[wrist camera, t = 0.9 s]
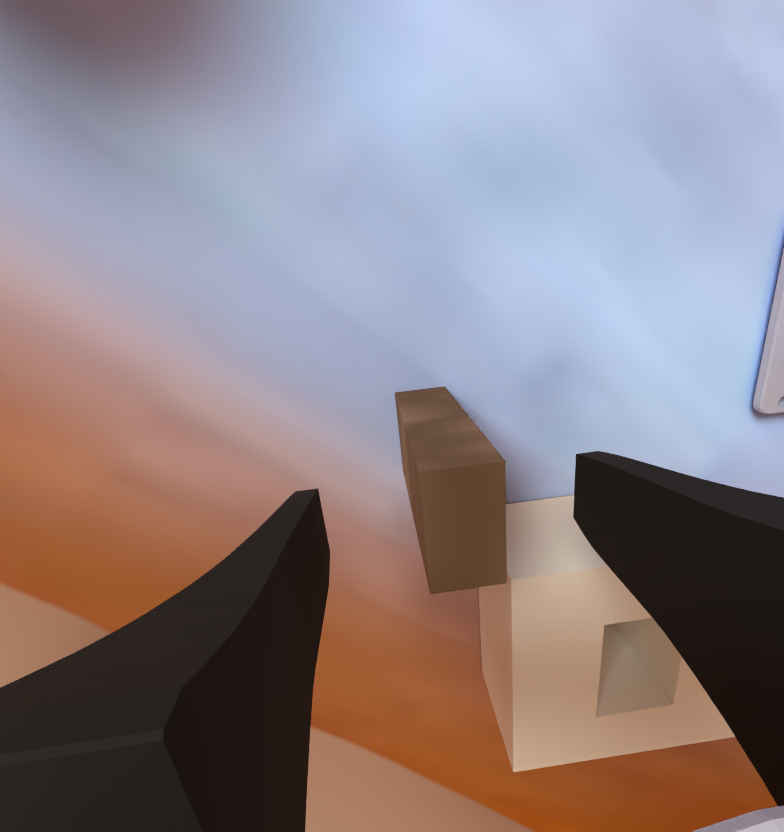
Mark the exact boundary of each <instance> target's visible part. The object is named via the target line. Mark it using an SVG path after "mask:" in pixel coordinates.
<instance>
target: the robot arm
mask: <svg viewBox="0 0 784 832" xmlns="http://www.w3.org/2000/svg"><path fill="white" fill-rule="evenodd" d="M780 398H781V399H780ZM779 399H780V401H779ZM753 407H754V409H755V410H756V411H758V412H761V413H764V414H774V413H781V412H784V250H783V255H782V260H781V265H780V270H779V275H778V280H777V285H776V290H775V295H774V300H773V305H772V310H771V315H770V320H769V325H768V330H767V335H766V340H765V345H764V350H763V355H762V360H761V365H760V370H759V375H758V380H757V385H756V390H755V395H754V400H753ZM573 518H574V520H575V521H576V523H577V525H578V526H579V528H580V529H581V531H582V533H583V534H584V536H585V537H586V539H587V540H588V542H589V543H590V545H591V546H592V548H593V549H594V550H595V551H596V553H597V554H598V555H599V556H600V557H601V559H602V560H603V561H604V562H605V563H606V564H607V566H608V567H609V568H610V569H611V570H612V572H613V573H614V574H615V575H616V576H617V577H618V578H619V580H620V581H621V582H622V583H623V584H624V585H625V587H626V588H627V589H628V590H629V591H630V592H631V593H632V595H633V596H634V597H635V598H636V599H637V600H638V602H639V603H640V604H641V605H642V606H643V607H644V609H645V610H646V611H647V612H648V613H649V614H650V615H651V617H652V618H653V619H654V620H655V622H656V623H657V624H658V625H659V627H660V628H661V629H662V630H663V632H664V633H665V634H666V636H667V637H668V638H669V640H670V641H671V643H672V644H673V645H674V647H675V648H676V650H677V651H678V652H679V654H680V655H681V657H682V658H683V659H684V661H685V662H686V664H687V665H688V666H689V668H690V669H691V671H692V672H693V673H694V675H695V676H696V678H697V679H698V681H699V682H700V684H701V685H702V687H703V688H704V690H705V691H706V693H707V694H708V696H709V697H710V699H711V700H712V702H713V703H714V705H715V706H716V708H717V709H718V711H719V712H720V714H721V715H722V717H723V718H724V720H725V721H726V723H727V724H728V726H729V727H730V729H731V731H732V732H733V734H734V735H735V737H736V739H737V740H738V742H739V743H740V745H741V746H742V748H743V750H744V751H745V753H746V754H747V756H748V758H749V759H750V761H751V762H752V764H753V766H754V767H755V769H756V770H757V772H758V773H759V775H760V777H761V778H762V780H763V781H764V783H765V785H766V787H767V788H768V790H769V792H770V793H771V795H772V797H773V798H774V800H775V802H776V803H777V805H778V807H773V808H767V809H761V810H756V811H752V812H749V813H746V814H743V815H740V816H737V817H734V818H731V819H728V820H725V821H722V822H719V823H716V824H713V825H710V826H707V827H704V828H701V829H698V830H695V831H693V832H784V498H782V497H777V496H772V495H767V494H762V493H757V492H752V491H748V490H744V489H739V488H735V487H731V486H727V485H723V484H719V483H715V482H711V481H707V480H703V479H700V478H696V477H692V476H689V475H685V474H682V473H678V472H675V471H671V470H668V469H664V468H661V467H658V466H654V465H651V464H647V463H644V462H640V461H637V460H634V459H630V458H626V457H623V456H619V455H615V454H610V453H606V452H600V451H596V452H588V453H581V454H576V469H575V490H574V511H573ZM329 567H330V549H329V544H328V539H327V534H326V528H325V523H324V518H323V513H322V507H321V502H320V497H319V492H318V489H311V490H304V491H296V492H295V493H293V494H292V495H291V496H290V497H289V498H288V499H287V500H286V501H285V502H284V503H283V504H282V505H281V506H280V507H279V508H278V509H277V510H276V511H275V512H274V513H273V514H272V515H271V516H270V517H269V518H268V519H267V520H266V521H265V522H264V523H263V524H262V525H261V526H260V527H259V528H258V529H257V530H256V531H255V532H254V533H253V534H252V535H251V536H250V537H249V538H248V539H246V540H245V541H244V542H243V543H242V544H241V545H240V546H239V547H238V548H236V549H235V550H234V551H233V552H232V553H231V554H230V555H229V556H227V557H226V558H225V559H224V560H223V561H221V562H220V563H219V564H217V565H216V566H215V567H214V568H212V569H211V570H210V571H208V572H207V573H206V574H204V575H203V576H202V577H200V578H199V579H198V580H196V581H195V582H194V583H192V584H191V585H189V586H188V587H186V588H185V589H183V590H182V591H180V592H179V593H177V594H176V595H174V596H172V597H171V598H169V599H168V600H166V601H165V602H163V603H162V604H160V605H159V606H157V607H155V608H154V609H152V610H151V611H149V612H148V613H146V614H144V615H143V616H141V617H139V618H138V619H136V620H134V621H132V622H131V623H129V624H127V625H125V626H124V627H122V628H120V629H118V630H117V631H115V632H113V633H111V634H109V635H107V636H106V637H104V638H102V639H100V640H98V641H96V642H94V643H92V644H91V645H89V646H87V647H85V648H83V649H81V650H79V651H77V652H75V653H73V654H71V655H69V656H67V657H65V658H63V659H60V660H58V661H56V662H54V663H52V664H50V665H48V666H46V667H44V668H42V669H39V670H37V671H35V672H33V673H31V674H29V675H27V676H25V677H23V678H21V679H18V680H16V681H14V682H12V683H10V684H8V685H5V686H3V687H1V688H0V832H305V819H306V796H307V776H308V758H309V739H310V724H311V710H312V695H313V684H314V676H315V667H316V661H317V655H318V649H319V643H320V637H321V631H322V625H323V619H324V613H325V606H326V600H327V594H328V587H329Z"/></svg>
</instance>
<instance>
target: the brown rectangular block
mask: <svg viewBox="0 0 784 832" xmlns="http://www.w3.org/2000/svg"><path fill="white" fill-rule="evenodd" d="M395 399H396V408H397V417H398V427H399V436H400V445H401V454H402V463H403V472H404V477H405V481H406V486H407V490H408V495H409V499H410V504H411V508H412V513H413V517H414V522H415V526H416V531H417V535H418V540H419V544H420V549H421V553H422V558H423V562H424V567H425V571H426V576H427V580H428V585H429V589H430V594H435V593H442V592H449V591H456V590H463V589H470V588H477V587H484V586H491V585H498V584H505V583H507V552H506V487H505V460H504V459H503V458H502V457H501V455H500V454H499V453H498V452H497V450H496V449H495V448H494V447H493V446H492V444H491V443H490V442H489V441H488V439H487V438H486V437H485V436H484V434H483V433H482V432H481V431H480V430H479V428H478V427H477V426H476V425H475V423H474V422H473V421H472V420H471V418H470V417H469V416H468V415H467V414H466V412H465V411H464V410H463V409H462V407H461V406H460V405H459V404H458V403H457V401H456V400H455V399H454V398H453V396H452V395H451V394H450V393H449V391H448V390H447V389H446V388H445V387H437V388H429V389H421V390H413V391H405V392H397V393H395Z"/></svg>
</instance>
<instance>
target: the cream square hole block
mask: <svg viewBox="0 0 784 832" xmlns="http://www.w3.org/2000/svg"><path fill="white" fill-rule="evenodd" d="M573 511H574V495H571V496H563V497H556V498H548V499H541V500H534V501H526V502H519V503H511V504H506V552H507V583H505V584H498V585H491V586H484V587H479V610H480V632H481V655H482V673H483V676H484V679H485V682H486V686H487V689H488V692H489V695H490V699H491V702H492V705H493V708H494V711H495V715H496V718H497V721H498V724H499V727H500V731H501V734H502V737H503V740H504V743H505V747H506V750H507V753H508V756H509V760H510V763H511V766H512V769H513V772H518V771H524V770H530V769H537V768H543V767H549V766H556V765H562V764H568V763H574V762H581V761H587V760H593V759H600V758H606V757H612V756H618V755H625V754H631V753H637V752H644V751H650V750H656V749H662V748H669V747H675V746H681V745H688V744H694V743H700V742H706V741H713V740H719V739H725V738H731V737H735V735H734V734H733V732H732V731H731V729H730V727H729V726H728V724H727V723H726V721H725V720H724V718H723V717H722V715H721V714H720V712H719V711H718V709H717V708H716V706H715V705H714V703H713V702H712V700H711V699H710V697H709V696H708V694H707V693H706V691H705V690H704V688H703V687H702V685H701V684H700V682H699V681H698V679H697V678H696V676H695V675H694V673H693V672H692V671H691V669H690V668H689V666H688V665H687V664H686V662H685V661H684V659H683V658H682V657H681V655H680V654H679V652H678V651H677V650H676V648H675V647H674V645H673V644H672V643H671V641H670V640H669V638H668V637H667V636H666V634H665V633H664V632H663V630H662V629H661V628H660V627H659V625H658V624H657V623H656V622H655V620H654V619H653V618H652V617H651V615H650V614H649V613H648V612H647V611H646V610H645V609H644V607H643V606H642V605H641V604H640V603H639V602H638V600H637V599H636V598H635V597H634V596H633V595H632V593H631V592H630V591H629V590H628V589H627V588H626V587H625V585H624V584H623V583H622V582H621V581H620V580H619V578H618V577H617V576H616V575H615V574H614V573H613V572H612V570H611V569H610V568H609V567H608V566H607V564H606V563H605V562H604V561H603V560H602V559H601V557H600V556H599V555H598V554H597V553H596V551H595V550H594V549H593V548H592V546H591V545H590V543H589V542H588V540H587V539H586V537H585V536H584V534H583V533H582V531H581V529H580V528H579V526H578V525H577V523H576V521H575V520H574V518H573Z"/></svg>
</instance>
